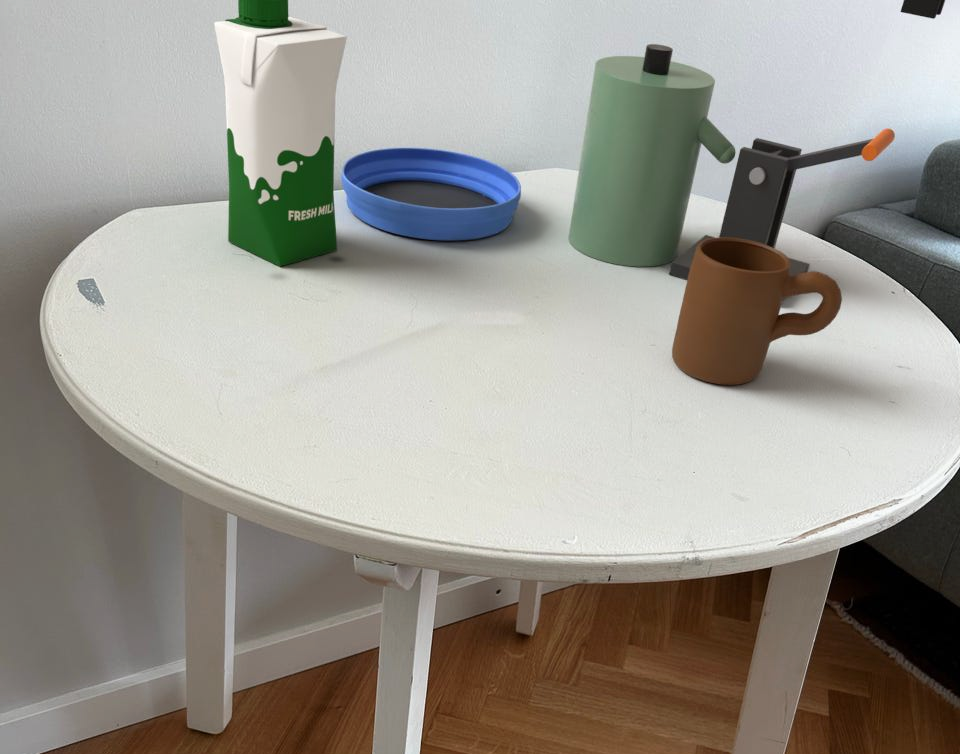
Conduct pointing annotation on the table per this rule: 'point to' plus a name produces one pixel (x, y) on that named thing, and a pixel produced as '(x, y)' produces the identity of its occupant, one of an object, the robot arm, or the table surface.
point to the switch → (842, 152)
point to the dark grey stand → (754, 201)
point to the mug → (743, 309)
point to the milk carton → (280, 131)
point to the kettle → (642, 157)
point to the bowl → (430, 193)
